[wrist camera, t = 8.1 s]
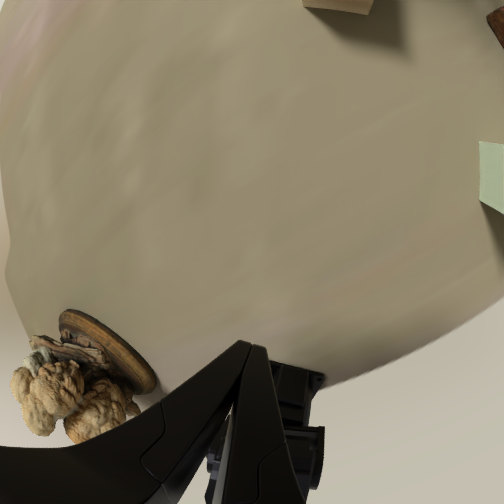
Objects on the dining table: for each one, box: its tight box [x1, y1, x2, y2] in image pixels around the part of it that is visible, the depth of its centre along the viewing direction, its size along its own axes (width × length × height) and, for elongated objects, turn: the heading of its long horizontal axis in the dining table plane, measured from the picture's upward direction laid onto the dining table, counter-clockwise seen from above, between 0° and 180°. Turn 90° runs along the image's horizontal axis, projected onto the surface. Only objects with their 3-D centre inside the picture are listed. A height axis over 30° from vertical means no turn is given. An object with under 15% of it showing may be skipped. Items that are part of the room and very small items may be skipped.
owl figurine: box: [10, 309, 156, 444], centre depth 25 cm, size 18×12×17 cm, turn 66°
